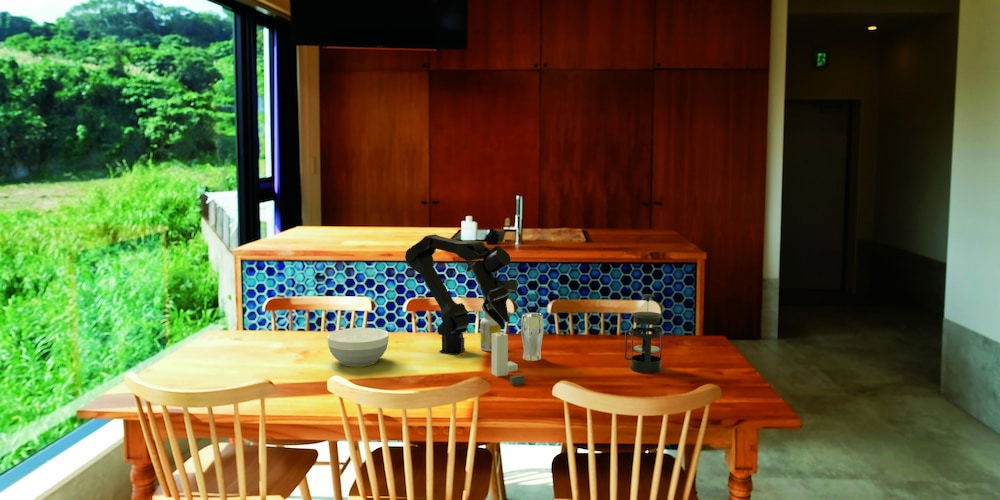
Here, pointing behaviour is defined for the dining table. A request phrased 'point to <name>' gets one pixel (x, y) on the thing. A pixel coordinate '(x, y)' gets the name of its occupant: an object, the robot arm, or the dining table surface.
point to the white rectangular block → (499, 354)
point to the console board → (515, 379)
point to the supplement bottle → (488, 331)
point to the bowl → (358, 345)
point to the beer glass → (532, 335)
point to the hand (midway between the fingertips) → (505, 324)
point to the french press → (645, 342)
